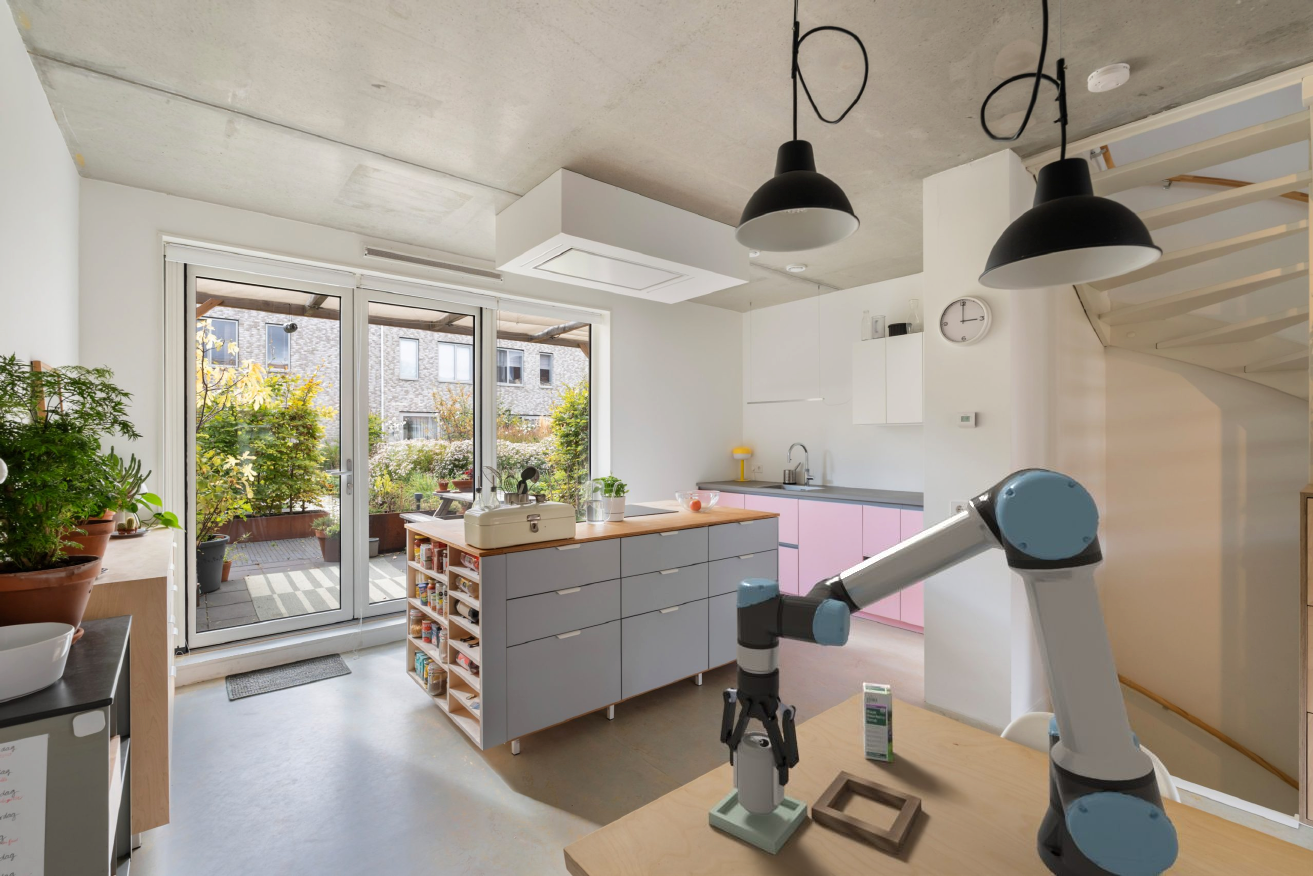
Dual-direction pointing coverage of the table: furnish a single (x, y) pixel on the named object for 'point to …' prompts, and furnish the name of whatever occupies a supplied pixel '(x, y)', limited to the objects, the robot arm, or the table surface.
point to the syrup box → (877, 722)
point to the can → (756, 773)
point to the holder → (859, 828)
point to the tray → (758, 821)
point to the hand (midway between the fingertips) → (758, 792)
